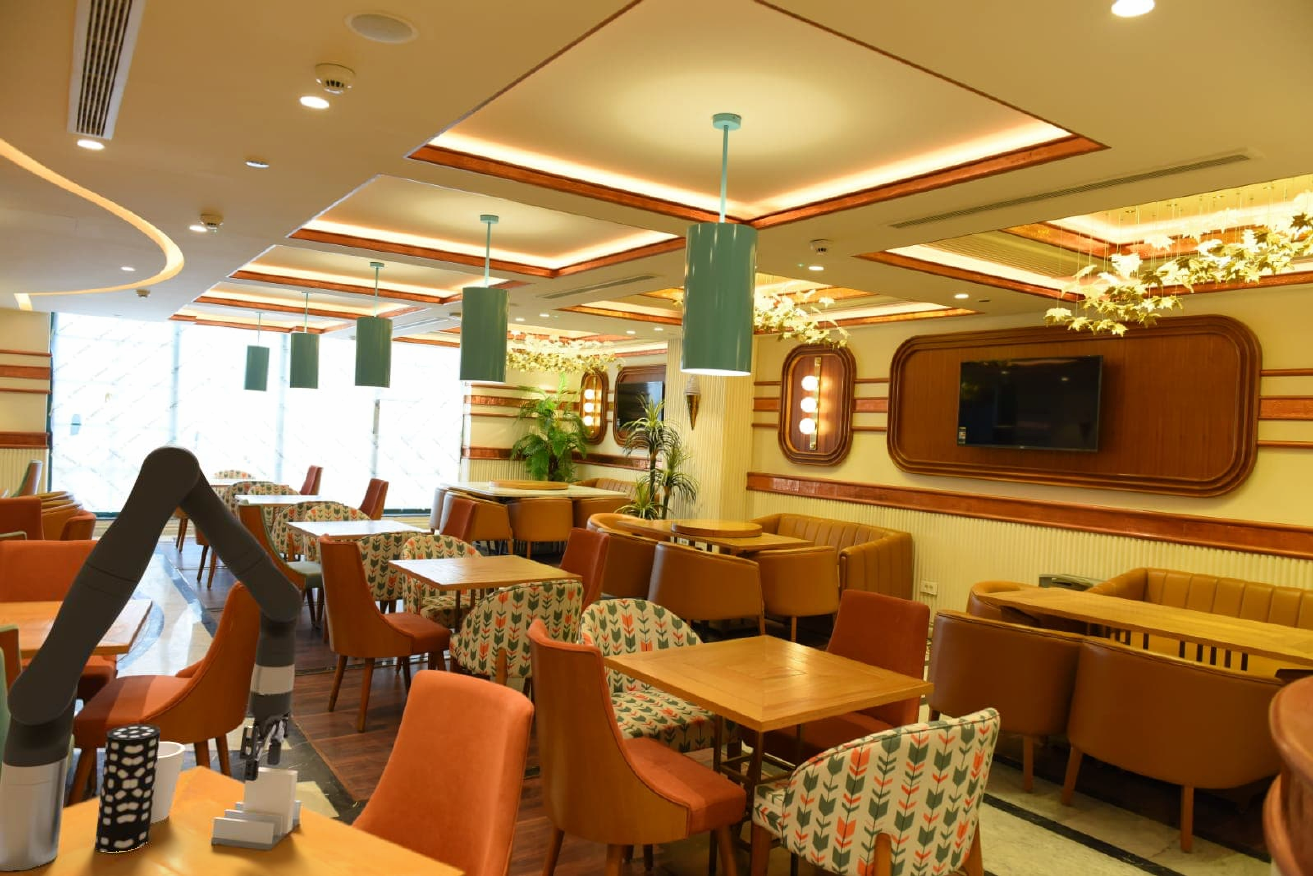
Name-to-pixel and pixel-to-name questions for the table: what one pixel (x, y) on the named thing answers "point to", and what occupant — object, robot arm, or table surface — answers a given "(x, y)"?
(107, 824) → the spotted tube
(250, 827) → the dish rack
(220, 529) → the robot arm
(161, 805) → the foam cup
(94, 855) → the table surface
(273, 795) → the cream upright slab
